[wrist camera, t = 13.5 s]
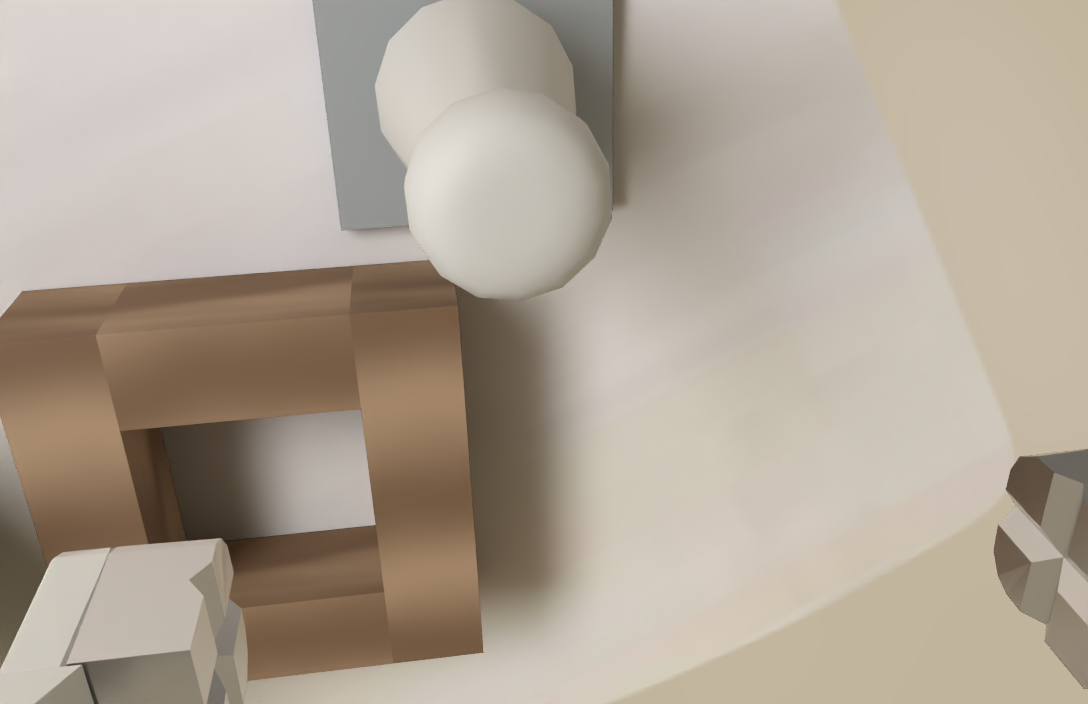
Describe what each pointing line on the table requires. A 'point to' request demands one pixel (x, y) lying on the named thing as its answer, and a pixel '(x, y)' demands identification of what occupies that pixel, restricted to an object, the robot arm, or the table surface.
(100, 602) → the robot arm
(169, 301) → the socket block
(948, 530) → the table surface
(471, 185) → the salt shaker
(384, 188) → the coaster
